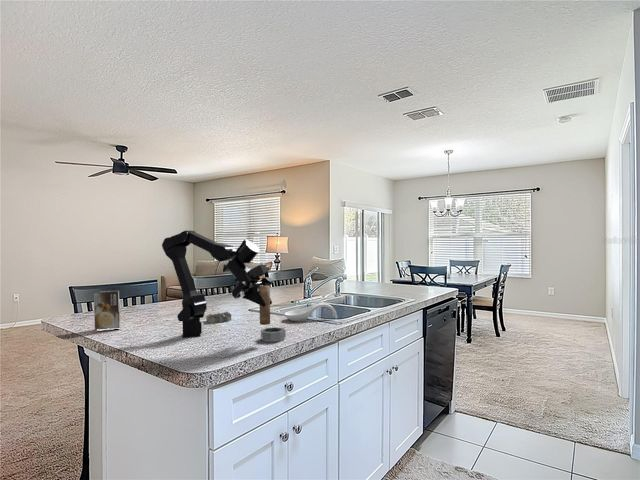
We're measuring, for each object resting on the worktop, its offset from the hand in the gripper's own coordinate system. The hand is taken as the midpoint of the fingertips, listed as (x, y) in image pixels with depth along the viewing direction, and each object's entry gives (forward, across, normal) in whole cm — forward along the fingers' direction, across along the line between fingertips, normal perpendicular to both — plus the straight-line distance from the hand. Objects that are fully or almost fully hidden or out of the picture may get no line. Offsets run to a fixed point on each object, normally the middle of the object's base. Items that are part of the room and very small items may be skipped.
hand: (268, 304), depth 131 cm
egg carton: (-20, +26, +40) cm, 52 cm away
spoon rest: (+7, +42, +13) cm, 45 cm away
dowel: (+4, 0, +6) cm, 7 cm away
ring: (+8, +6, +11) cm, 15 cm away
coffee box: (-44, -4, +64) cm, 77 cm away
